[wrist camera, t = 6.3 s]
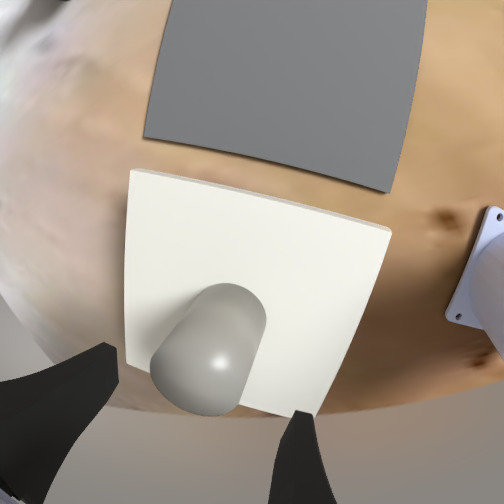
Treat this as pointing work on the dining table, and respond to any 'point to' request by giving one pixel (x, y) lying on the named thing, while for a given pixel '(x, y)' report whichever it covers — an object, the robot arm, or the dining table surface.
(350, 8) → the mat
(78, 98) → the dining table surface
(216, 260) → the lid
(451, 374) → the dining table surface
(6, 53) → the dining table surface
